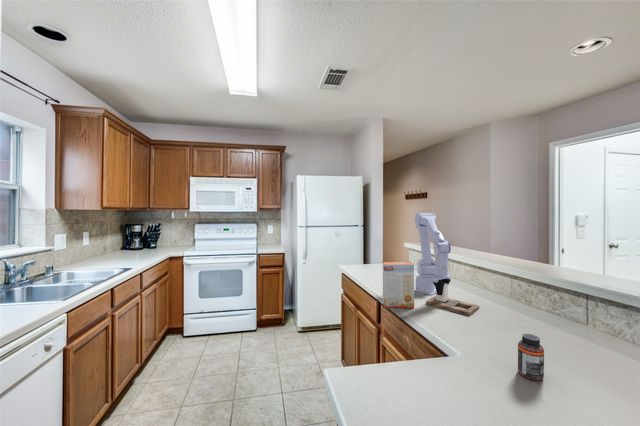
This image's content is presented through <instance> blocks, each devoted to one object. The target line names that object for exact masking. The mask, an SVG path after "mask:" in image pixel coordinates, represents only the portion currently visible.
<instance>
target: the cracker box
mask: <svg viewBox="0 0 640 426" xmlns="http://www.w3.org/2000/svg"><path fill="white" fill-rule="evenodd" d="M382 303H383V307H384V308H385V309H386V308H390V309H391V308H392V309H393V308H394V309H395V308H396V309H397V308H398V309H415V264H414V263H413V262H411V261H410V262H408V261H404V262H403V261H401V262H400V261H396V262H395V261H393V262H392V261H386V262H385V261H383V262H382Z"/></svg>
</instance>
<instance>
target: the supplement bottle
mask: <svg viewBox="0 0 640 426" xmlns="http://www.w3.org/2000/svg"><path fill="white" fill-rule="evenodd" d="M521 336H522V337H521V340H519V341H518V342H517V372H518V373H519V374H520V375H521V376H522V377H523V378H525V379H527V380H530V381H533V382H540V381H542V380H544V375H545V348H544V346H542V344H540V343H541V339H540V336H539V337H538V335H535V334H532V333H523V334H522V335H521Z"/></svg>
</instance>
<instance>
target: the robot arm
mask: <svg viewBox="0 0 640 426" xmlns="http://www.w3.org/2000/svg"><path fill="white" fill-rule="evenodd" d="M436 216H437V215H436V214H435V213H434V212H417V213H416V214H415V216H414V217H415V218H414V224H415V228H416V229H418V233H419V241H420V251H421V252H420V253H421V259H420V260H418V262H417V263H416V264H417V268H416V269H417V275H416V276H415V289H414V292H417V293H421V294H426V295H428V296H432V295H435V294H436V292H437V295H441V296H442V293H443V287H444V284H445V283H446V284H448V286H449V284H450V283H451V273H450V272H449V254H450V253H451V251H452V247H451V243H450V242H449V241H447V240H445V237H444V235H443V233H442V231H440V230H438V227H437V224H436V222H437V217H436ZM429 234H430V235H429ZM430 239H431V241H432V244H433V253H434V255H433V256H434V257H435V260H434V259H433V258H432V253H431V251H432V250H431V245H430V242H431V241H430Z"/></svg>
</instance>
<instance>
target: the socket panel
mask: <svg viewBox="0 0 640 426" xmlns="http://www.w3.org/2000/svg"><path fill="white" fill-rule="evenodd" d="M425 305H428V306H432V307H436V308H439V309H442V310H446V311H450V312H453V313H457V314H460V315H464V316H467V317H471V316H472V315H473V314H475V313H476V312H478V310H480V305H478V304H474V303H469V302H465V301H461V300H458V299H454V298H449V297H448V300H447V301H445V302H441V301H438V300H436V295H435V296H433V297H431V298H429V299H427V300H425Z"/></svg>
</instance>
